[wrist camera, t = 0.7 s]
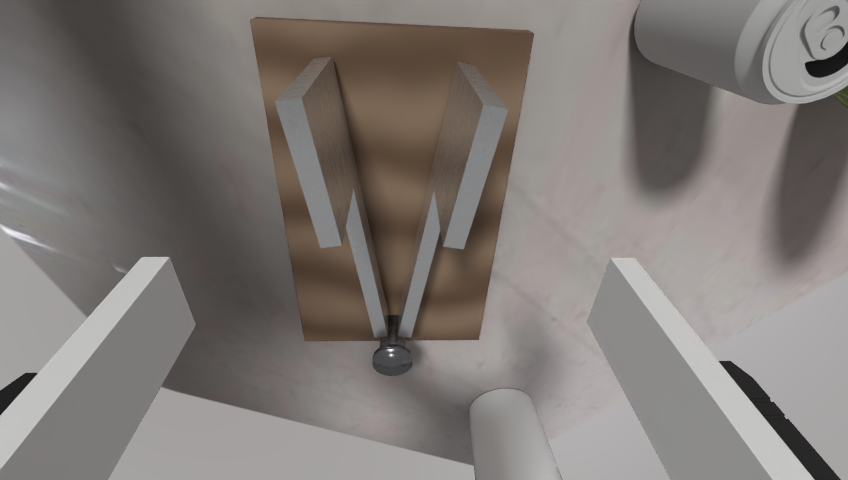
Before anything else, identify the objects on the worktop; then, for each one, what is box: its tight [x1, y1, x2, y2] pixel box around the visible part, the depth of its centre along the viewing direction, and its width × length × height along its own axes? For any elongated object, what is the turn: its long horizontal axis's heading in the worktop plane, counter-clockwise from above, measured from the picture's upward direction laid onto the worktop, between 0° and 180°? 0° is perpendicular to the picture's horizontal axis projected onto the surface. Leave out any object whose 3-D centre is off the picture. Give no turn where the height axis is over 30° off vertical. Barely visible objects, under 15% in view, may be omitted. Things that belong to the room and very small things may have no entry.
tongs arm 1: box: [275, 56, 388, 338], centre depth 28 cm, size 23×1×10 cm, turn 6°
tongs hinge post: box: [373, 315, 412, 376], centre depth 38 cm, size 4×4×5 cm
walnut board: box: [250, 17, 534, 341], centre depth 34 cm, size 29×18×2 cm, turn 177°
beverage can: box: [634, 0, 848, 104], centre depth 22 cm, size 6×6×12 cm
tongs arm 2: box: [398, 62, 508, 338], centre depth 29 cm, size 23×1×10 cm, turn 168°
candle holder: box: [469, 388, 562, 480], centre depth 47 cm, size 10×10×12 cm
